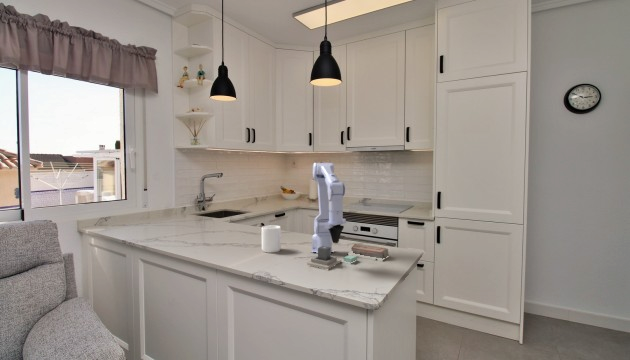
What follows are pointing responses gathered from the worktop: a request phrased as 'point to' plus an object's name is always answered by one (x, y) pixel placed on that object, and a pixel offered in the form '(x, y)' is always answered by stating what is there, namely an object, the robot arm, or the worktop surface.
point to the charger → (324, 253)
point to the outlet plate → (324, 262)
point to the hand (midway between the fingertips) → (335, 242)
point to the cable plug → (350, 258)
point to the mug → (271, 238)
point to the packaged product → (370, 251)
